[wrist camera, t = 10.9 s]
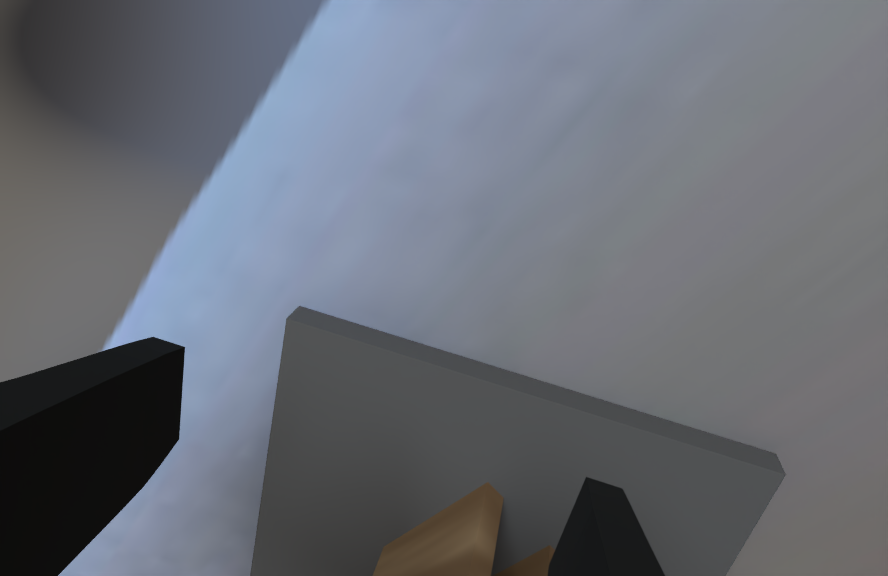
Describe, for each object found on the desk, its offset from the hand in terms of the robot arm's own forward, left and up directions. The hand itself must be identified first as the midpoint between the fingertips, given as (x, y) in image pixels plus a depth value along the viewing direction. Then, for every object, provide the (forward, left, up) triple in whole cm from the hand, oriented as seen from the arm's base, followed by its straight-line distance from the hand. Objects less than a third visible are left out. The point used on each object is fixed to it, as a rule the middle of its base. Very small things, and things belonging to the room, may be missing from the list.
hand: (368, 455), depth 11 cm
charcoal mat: (-3, +10, -9) cm, 14 cm away
